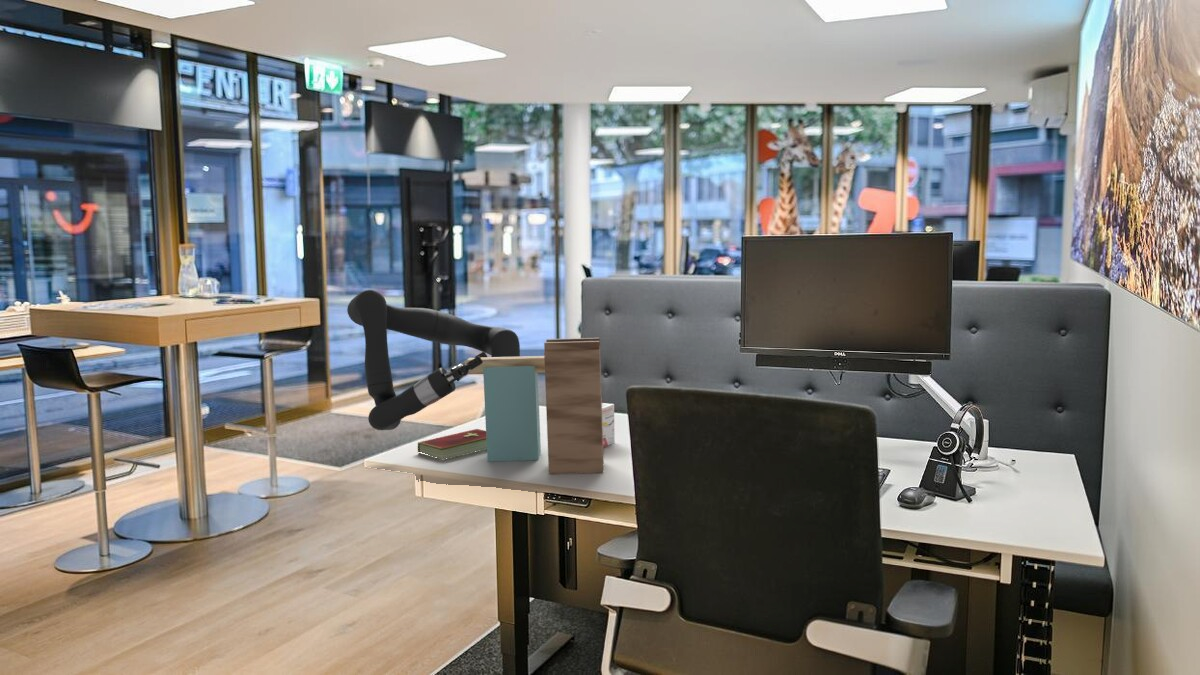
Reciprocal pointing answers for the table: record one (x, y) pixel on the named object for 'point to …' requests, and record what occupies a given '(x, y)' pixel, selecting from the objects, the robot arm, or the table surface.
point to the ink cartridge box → (608, 424)
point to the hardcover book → (454, 444)
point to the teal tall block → (512, 413)
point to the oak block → (510, 363)
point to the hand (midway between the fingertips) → (483, 356)
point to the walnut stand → (574, 405)
